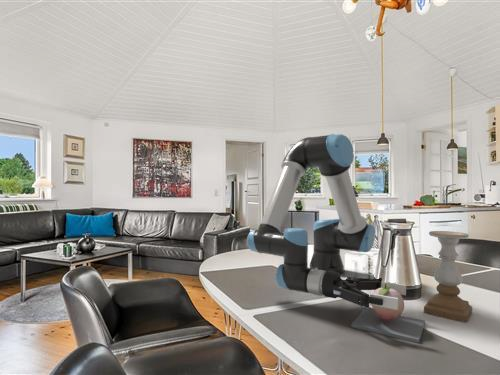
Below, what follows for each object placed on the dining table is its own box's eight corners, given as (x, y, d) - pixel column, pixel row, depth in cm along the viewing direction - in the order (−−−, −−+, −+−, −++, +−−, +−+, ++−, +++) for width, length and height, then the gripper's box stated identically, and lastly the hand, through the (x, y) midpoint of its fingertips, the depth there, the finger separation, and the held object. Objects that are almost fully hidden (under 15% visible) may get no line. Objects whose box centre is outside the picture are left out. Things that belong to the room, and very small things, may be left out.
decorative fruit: (406, 330, 82) (404, 290, 82) (371, 326, 85) (370, 287, 85) (403, 317, 91) (402, 281, 91) (372, 314, 94) (371, 279, 94)
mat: (351, 326, 86) (351, 323, 86) (364, 310, 98) (364, 308, 98) (418, 343, 77) (418, 339, 77) (424, 323, 89) (424, 320, 89)
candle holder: (472, 312, 98) (473, 233, 98) (466, 323, 89) (467, 236, 90) (432, 303, 105) (432, 229, 105) (422, 312, 97) (423, 232, 97)
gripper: (308, 280, 87) (393, 294, 75) (338, 263, 108) (408, 272, 96) (308, 308, 87) (393, 327, 75) (338, 285, 108) (408, 297, 96)
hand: (402, 296), depth 86 cm, fingers open, 13 cm apart
